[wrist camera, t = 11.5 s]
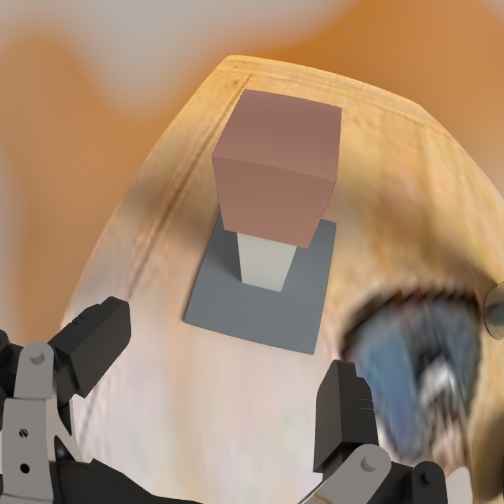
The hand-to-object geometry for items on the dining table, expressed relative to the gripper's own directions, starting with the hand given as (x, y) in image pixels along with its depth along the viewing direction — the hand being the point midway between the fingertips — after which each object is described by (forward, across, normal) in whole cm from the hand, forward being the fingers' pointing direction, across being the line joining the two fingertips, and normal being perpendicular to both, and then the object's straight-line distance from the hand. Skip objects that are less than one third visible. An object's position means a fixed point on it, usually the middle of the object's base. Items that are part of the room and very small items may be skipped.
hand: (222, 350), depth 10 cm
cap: (+14, 0, -3) cm, 14 cm away
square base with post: (+25, 0, +8) cm, 26 cm away
